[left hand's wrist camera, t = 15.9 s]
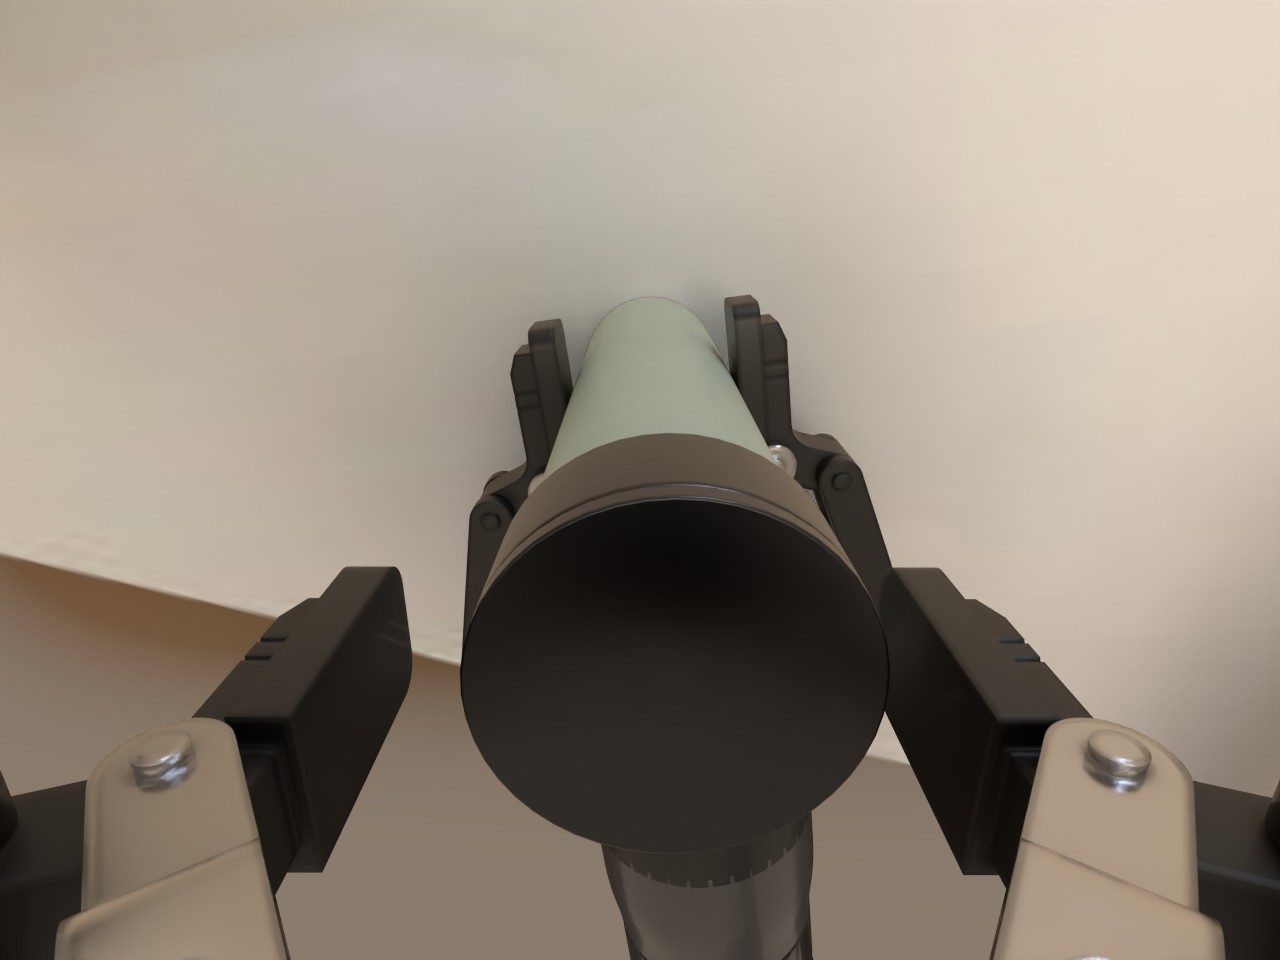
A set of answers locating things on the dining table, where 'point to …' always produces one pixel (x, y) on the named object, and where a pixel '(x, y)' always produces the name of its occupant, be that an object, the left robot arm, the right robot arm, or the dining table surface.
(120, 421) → the dining table surface
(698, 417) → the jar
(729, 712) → the lid
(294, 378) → the dining table surface
